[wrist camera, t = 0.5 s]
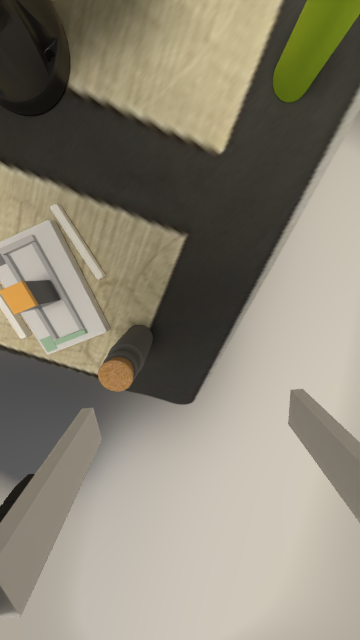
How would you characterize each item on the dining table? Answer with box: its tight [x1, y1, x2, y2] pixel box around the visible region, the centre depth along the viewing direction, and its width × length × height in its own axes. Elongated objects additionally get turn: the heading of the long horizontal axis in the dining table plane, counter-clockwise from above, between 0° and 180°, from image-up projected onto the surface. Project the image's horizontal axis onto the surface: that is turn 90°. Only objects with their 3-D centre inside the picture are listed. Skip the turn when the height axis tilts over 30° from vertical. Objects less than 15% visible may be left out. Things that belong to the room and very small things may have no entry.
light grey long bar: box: [0, 285, 32, 339], centre depth 35 cm, size 16×1×1 cm, turn 21°
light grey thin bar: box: [50, 203, 106, 280], centre depth 33 cm, size 14×1×1 cm, turn 29°
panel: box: [0, 219, 110, 355], centre depth 34 cm, size 22×14×3 cm, turn 21°
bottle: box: [98, 325, 153, 391], centre depth 31 cm, size 6×6×15 cm
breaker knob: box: [0, 280, 60, 314], centre depth 30 cm, size 4×4×6 cm
